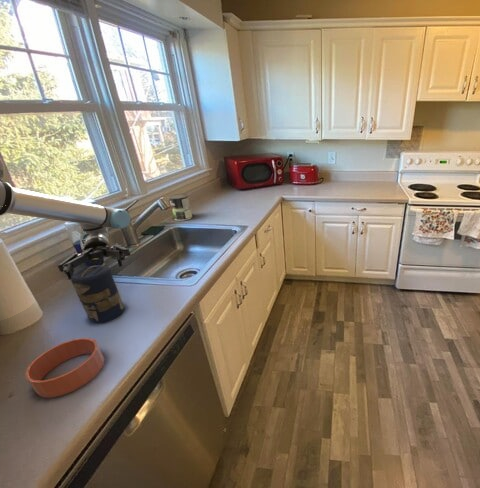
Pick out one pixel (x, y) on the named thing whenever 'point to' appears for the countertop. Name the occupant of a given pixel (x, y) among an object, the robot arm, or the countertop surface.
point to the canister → (98, 293)
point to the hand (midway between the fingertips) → (95, 269)
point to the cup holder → (71, 378)
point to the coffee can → (180, 207)
